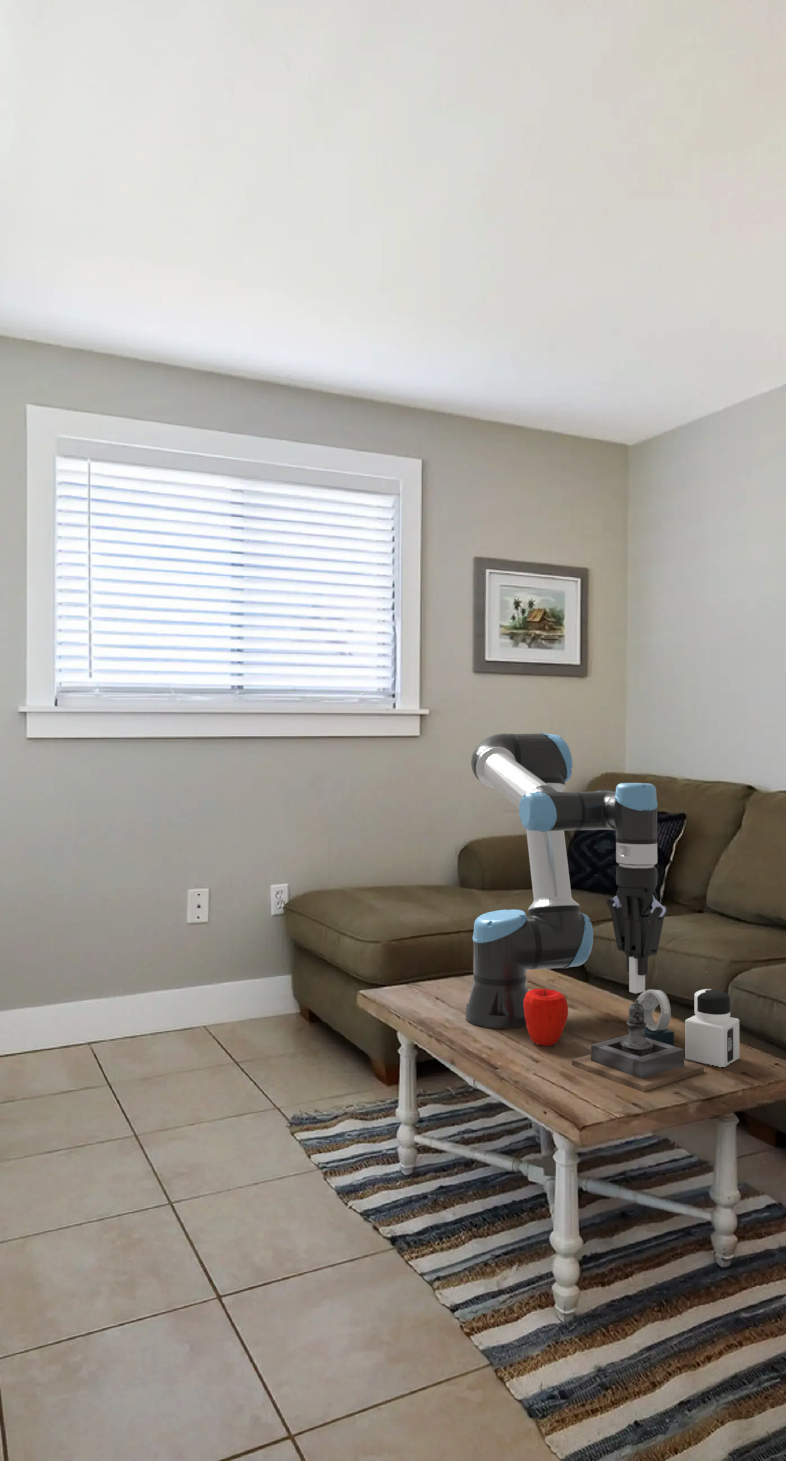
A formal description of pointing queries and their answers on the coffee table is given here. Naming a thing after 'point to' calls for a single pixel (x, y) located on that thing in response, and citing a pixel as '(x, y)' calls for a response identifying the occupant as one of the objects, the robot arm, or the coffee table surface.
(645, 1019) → the watch
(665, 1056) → the holder
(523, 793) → the robot arm
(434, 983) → the coffee table surface
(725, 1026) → the container
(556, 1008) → the apple
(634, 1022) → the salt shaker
